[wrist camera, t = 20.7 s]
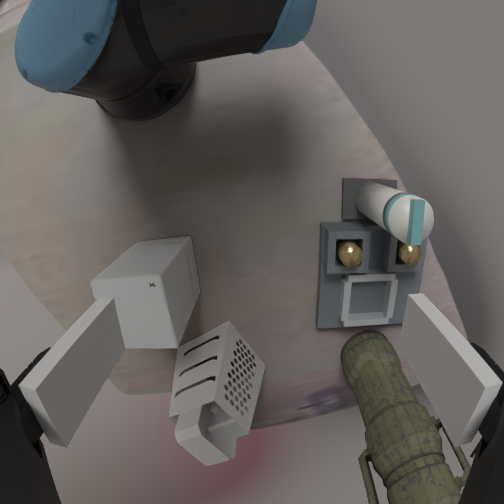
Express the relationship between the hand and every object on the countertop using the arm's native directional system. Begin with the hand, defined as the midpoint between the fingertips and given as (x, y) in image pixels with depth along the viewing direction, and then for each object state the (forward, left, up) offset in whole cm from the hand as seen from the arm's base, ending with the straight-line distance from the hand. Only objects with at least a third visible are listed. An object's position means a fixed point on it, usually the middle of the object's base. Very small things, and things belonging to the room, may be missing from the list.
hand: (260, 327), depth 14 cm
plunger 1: (+5, +11, -29) cm, 32 cm away
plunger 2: (+5, +19, -29) cm, 36 cm away
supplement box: (+9, -14, -32) cm, 36 cm away
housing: (+10, +16, -32) cm, 37 cm away
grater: (+25, -7, -32) cm, 41 cm away
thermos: (+25, +17, -32) cm, 44 cm away
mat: (-1, +15, -32) cm, 35 cm away
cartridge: (-1, +15, -31) cm, 35 cm away
